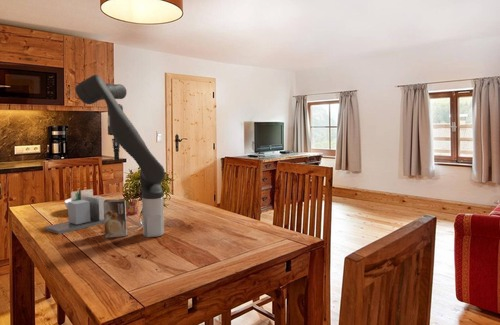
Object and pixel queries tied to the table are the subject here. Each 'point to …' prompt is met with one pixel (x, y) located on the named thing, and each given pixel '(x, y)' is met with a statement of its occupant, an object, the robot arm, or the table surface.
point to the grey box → (79, 211)
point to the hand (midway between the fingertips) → (116, 160)
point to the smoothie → (132, 207)
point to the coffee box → (115, 218)
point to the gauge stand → (95, 213)
